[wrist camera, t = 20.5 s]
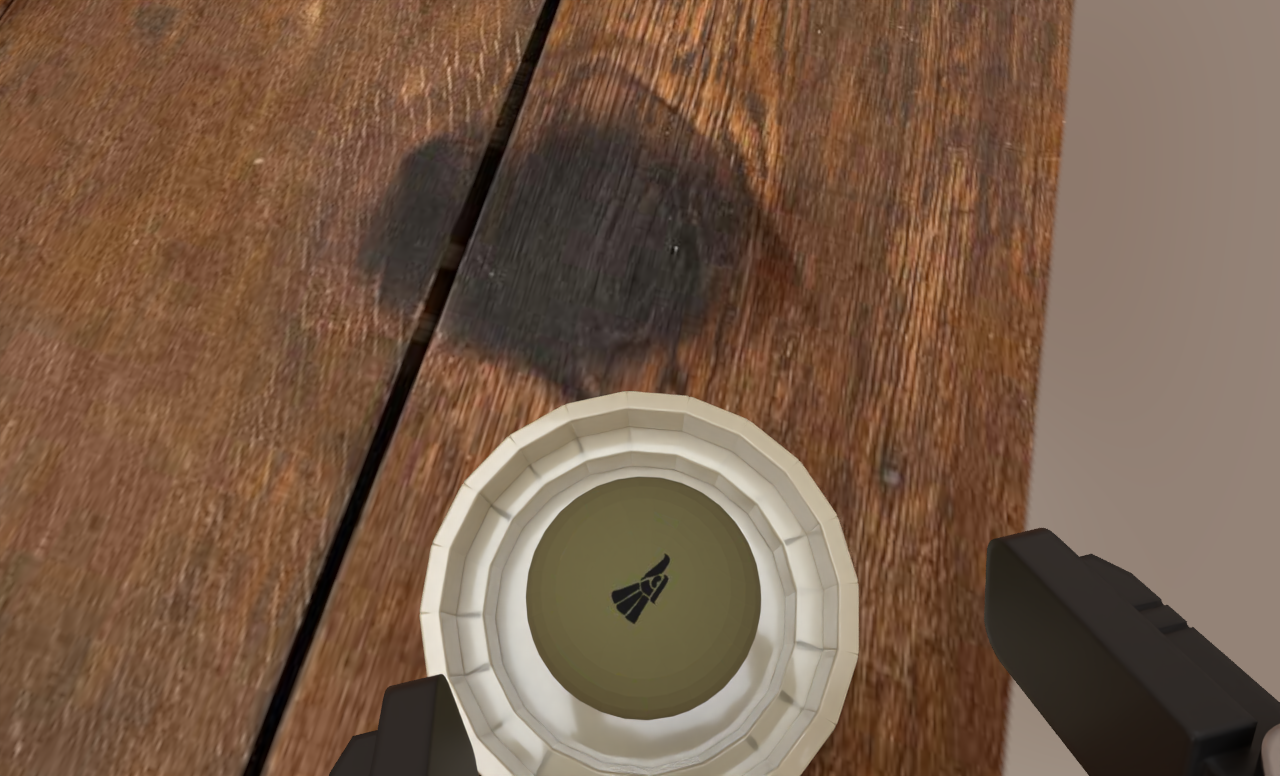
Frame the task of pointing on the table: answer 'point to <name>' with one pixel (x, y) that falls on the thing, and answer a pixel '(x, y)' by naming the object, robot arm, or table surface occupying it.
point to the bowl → (497, 580)
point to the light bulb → (643, 598)
